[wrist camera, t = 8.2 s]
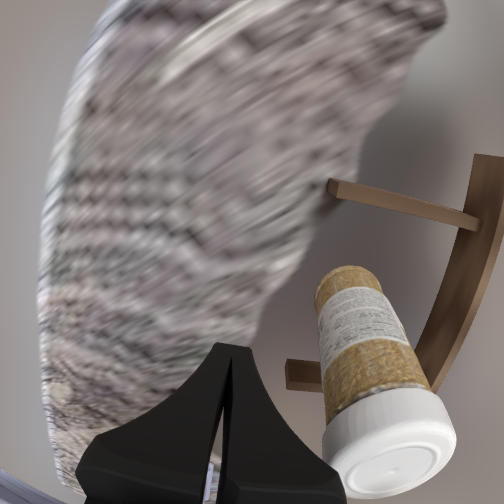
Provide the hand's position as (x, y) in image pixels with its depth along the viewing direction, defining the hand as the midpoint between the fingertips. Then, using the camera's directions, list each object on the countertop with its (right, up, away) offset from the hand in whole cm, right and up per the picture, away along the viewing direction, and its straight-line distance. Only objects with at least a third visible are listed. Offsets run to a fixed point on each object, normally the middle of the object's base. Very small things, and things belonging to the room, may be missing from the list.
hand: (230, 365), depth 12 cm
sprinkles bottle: (+7, +1, +9) cm, 11 cm away
